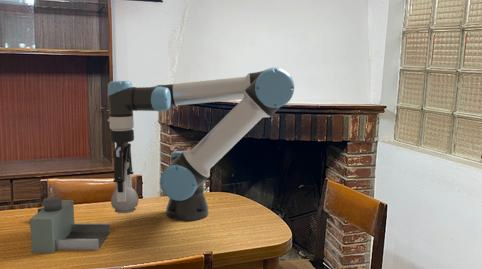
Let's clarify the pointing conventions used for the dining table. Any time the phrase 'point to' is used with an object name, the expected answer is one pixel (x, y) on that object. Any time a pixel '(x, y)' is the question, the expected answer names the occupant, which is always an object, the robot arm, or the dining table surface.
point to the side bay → (84, 236)
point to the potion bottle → (130, 197)
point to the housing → (51, 224)
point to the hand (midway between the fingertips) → (124, 197)
